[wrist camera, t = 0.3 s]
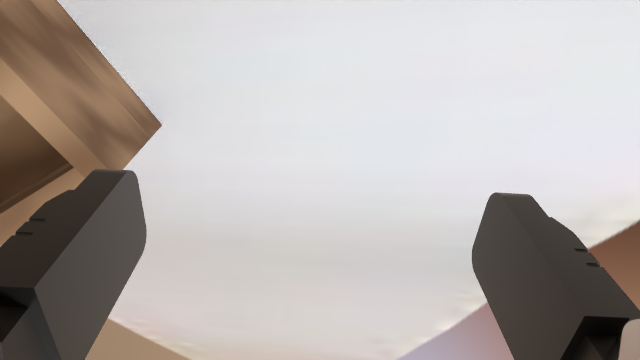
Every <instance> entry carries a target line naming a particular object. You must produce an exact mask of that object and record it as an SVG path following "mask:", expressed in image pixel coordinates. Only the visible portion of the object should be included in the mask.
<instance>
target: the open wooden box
mask: <svg viewBox="0 0 640 360" xmlns="http://www.w3.org/2000/svg"><path fill="white" fill-rule="evenodd" d="M161 126H162V125H161V124H160V122H159V121H158V120H157V119H156V118H155V116H154V115H153V114H152V113H151V112H150V111H149V109H148V108H147V107H146V106H145V105H144V103H143V102H142V101H141V100H140V99H139V98H138V96H137V95H136V94H135V93H134V92H133V90H132V89H131V88H130V87H129V86H128V85H127V83H126V82H125V81H124V80H123V79H122V77H121V76H120V75H119V74H118V73H117V72H116V70H115V69H114V68H113V67H112V66H111V64H110V63H109V62H108V61H107V60H106V59H105V57H104V56H103V55H102V54H101V53H100V51H99V50H98V49H97V48H96V47H95V46H94V44H93V43H92V42H91V41H90V40H89V38H88V37H87V36H86V35H85V34H84V33H83V31H82V30H81V29H80V28H79V27H78V25H77V24H76V23H75V22H74V21H73V20H72V18H71V17H70V16H69V15H68V14H67V13H66V11H65V10H64V9H63V8H62V7H61V5H60V4H59V3H58V2H57V1H56V0H0V246H1V245H2V244H4V243H5V242H6V241H7V240H8V239H9V238H10V237H11V236H12V235H14V236H15V234H16V231H17V230H18V229H19V228H20V227H21V226H22V225H23V224H24V223H25V222H29V218H30V217H31V216H32V215H33V214H34V213H35V212H36V211H37V210H38V209H39V208H40V207H41V206H42V205H43V204H44V203H45V202H47V201H49V200H50V199H52V198H54V197H56V196H58V195H60V194H61V193H63V192H65V191H67V190H75V189H76V188H77V187H78V185H79V184H80V183H81V182H82V181H83V180H84V179H85V178H86V177H87V176H88V175H89V174H90V173H91V172H92V171H93V170H95V169H113V170H123V169H124V167H125V166H126V165H127V164H128V163H129V162H130V161H131V160H132V158H133V157H134V156H135V155H136V154H137V153H138V152H139V151H140V149H141V148H142V147H143V146H144V145H145V144H146V143H147V141H148V140H149V139H150V138H151V137H152V136H153V135H154V134H155V132H156V131H157V130H158V129H159V128H160V127H161Z"/></svg>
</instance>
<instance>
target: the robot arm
mask: <svg viewBox="0 0 640 360" xmlns="http://www.w3.org/2000/svg"><path fill="white" fill-rule="evenodd" d="M145 243H146V224H145V218H144V212H143V207H142V201H141V196H140V190H139V184H138V179H137V176H136V174H135V173H134V172H133V171H130V170H113V169H95V170H93V171H92V172H91V173H90V174H89V175H88V176H87V177H86V178H85V179H84V180H83V181H82V182H81V183H80V184H79V185H78V187H77V188H76V189H75V190H67V191H65V192H63V193H61V194H60V195H58V196H56V197H54V198H52V199H50V200H49V201H47V202H45V203H44V204H43V205H42V206H41V207H40V208H39V209H38V210H37V211H36V212H35V213H34V214H33V215H32V216H31V217H30V218H29V222H25V223H24V224H23V225H22V226H21V227H20V228H19V229H18V230H17V231H16V234H15V236H14V235H12V236H11V237H10V238H9V239H8V240H7V241H6V242H5V243H4V244H3V245H2V246H1V247H0V360H85V357H86V356H87V354H88V352H89V350H90V349H91V347H92V345H93V343H94V341H95V339H96V338H97V336H98V334H99V332H100V330H101V328H102V326H103V325H104V323H105V321H106V319H107V318H108V316H109V314H110V312H111V310H112V308H113V307H114V305H115V303H116V301H117V299H118V297H119V296H120V294H121V292H122V290H123V288H124V286H125V285H126V283H127V281H128V279H129V277H130V276H131V274H132V272H133V270H134V268H135V266H136V265H137V263H138V261H139V259H140V257H141V255H142V253H143V251H144V247H145ZM587 250H588V249H587V248H586V247H585V246H584V244H583V243H582V242H581V241H580V240H579V238H578V237H577V236H576V235H575V234H574V233H573V232H572V231H571V230H569V229H568V228H566V227H565V226H564V225H562V224H561V223H559V222H558V221H556V220H555V219H553V218H552V217H548V216H547V214H546V213H545V212H544V211H543V209H542V208H541V207H540V206H539V204H538V203H537V202H536V201H535V200H534V198H533V197H532V196H530V195H528V194H512V193H493V194H492V195H491V196H490V198H489V200H488V202H487V205H486V208H485V211H484V214H483V217H482V220H481V223H480V226H479V229H478V232H477V235H476V238H475V242H474V245H473V249H472V265H473V269H474V272H475V275H476V277H477V279H478V281H479V284H480V286H481V288H482V290H483V292H484V294H485V297H486V299H487V301H488V303H489V305H490V308H491V310H492V312H493V314H494V316H495V318H496V320H497V323H498V325H499V327H500V329H501V331H502V334H503V336H504V338H505V340H506V342H507V345H508V347H509V349H510V351H511V353H512V355H513V358H514V360H640V310H639V309H638V308H637V307H636V306H635V304H634V303H633V302H632V301H631V300H630V299H629V297H628V296H627V295H626V294H625V293H624V292H623V290H622V289H621V288H620V287H619V286H618V285H617V283H616V282H615V281H614V280H613V279H612V277H611V276H610V275H609V274H608V273H607V272H606V270H605V269H604V268H603V267H600V266H599V262H598V261H597V260H596V258H595V257H594V256H593V255H592V254H591V253H588V252H587Z"/></svg>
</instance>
